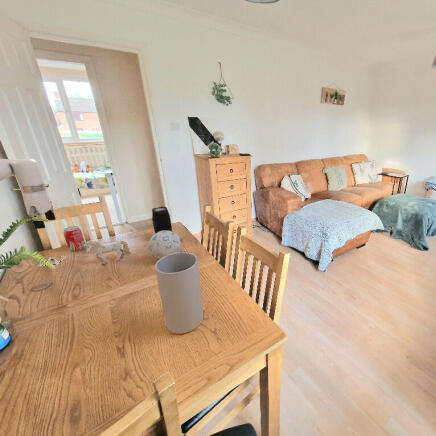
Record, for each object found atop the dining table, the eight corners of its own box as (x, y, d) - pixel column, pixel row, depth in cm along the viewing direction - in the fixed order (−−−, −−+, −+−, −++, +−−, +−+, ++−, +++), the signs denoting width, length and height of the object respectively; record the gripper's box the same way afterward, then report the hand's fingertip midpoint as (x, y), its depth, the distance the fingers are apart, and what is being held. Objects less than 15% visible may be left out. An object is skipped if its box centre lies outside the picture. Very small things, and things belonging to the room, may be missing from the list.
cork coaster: (28, 288, 98) (28, 287, 98) (47, 280, 103) (47, 279, 103) (35, 292, 96) (34, 292, 95) (54, 284, 101) (53, 284, 100)
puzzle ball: (189, 256, 126) (185, 231, 121) (161, 269, 114) (156, 241, 109) (172, 247, 134) (168, 223, 128) (144, 258, 122) (139, 232, 116)
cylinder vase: (177, 307, 93) (168, 251, 83) (209, 309, 92) (203, 253, 83) (159, 333, 81) (146, 271, 72) (195, 336, 81) (186, 275, 71)
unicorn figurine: (81, 267, 112) (72, 242, 107) (127, 252, 127) (122, 229, 122) (86, 273, 109) (77, 248, 103) (133, 257, 123) (127, 233, 118)
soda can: (69, 247, 128) (62, 227, 124) (86, 244, 132) (80, 224, 128) (68, 253, 123) (61, 232, 119) (86, 249, 127) (79, 229, 123)
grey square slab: (36, 266, 111) (35, 263, 111) (47, 257, 118) (46, 254, 118) (57, 264, 114) (56, 261, 113) (67, 256, 121) (66, 253, 120)
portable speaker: (172, 241, 140) (167, 210, 133) (154, 243, 137) (148, 211, 130) (174, 235, 148) (169, 205, 140) (157, 236, 145) (151, 206, 137)
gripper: (33, 183, 110) (45, 218, 117) (9, 194, 95) (24, 232, 102) (53, 183, 113) (64, 216, 119) (33, 193, 98) (47, 230, 105)
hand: (46, 224), depth 111 cm, fingers open, 9 cm apart
